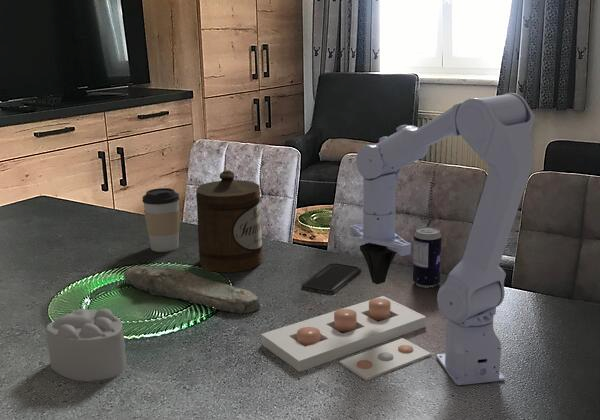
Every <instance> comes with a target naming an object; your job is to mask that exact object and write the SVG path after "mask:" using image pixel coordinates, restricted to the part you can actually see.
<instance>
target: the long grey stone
mask: <svg viewBox="0 0 600 420" xmlns="http://www.w3.org/2000/svg"><path fill="white" fill-rule="evenodd" d="M123 277H124V279H125V280H126V283H127V284H128V285H131V286H133V287H134V288H136V289H139V291H144V292H148V293H149V294H150V295H156V296H157V297H159V296H163V297H167V298H170V299H171V298H172V299H174V300H176V299H177V300H179V299H181V300H183V301H186V302H188V303H190V304H198V303H199V304H198V305H202V304H203V305H202V306H205V305H207V306H206V307H208V306H211V307H214V308H216V309H215V310H218V311H221V312H230V313H237V314H249V313H253V312H256V311H258V310H259V309H261V304H260V298H259V296H257V295H256V294H255V293H254V292H252V291H250V290H248V289H245V288H241V287H236V286H233V285H230V284H228V283H223V282H218V281H215V280H209V279H207V278H204V277H202V276H198V275H196V274H195V273H192V272H190V271H189V270H182V269H176V268H171V267H156V266H154V267H153V266H144V265H139V266H138V265H137V266H133V267H128V268H127V269H126V270H125V271H124V273H123ZM211 307H210V308H211ZM214 308H213V309H214Z"/></svg>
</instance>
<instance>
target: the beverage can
mask: <svg viewBox="0 0 600 420" xmlns="http://www.w3.org/2000/svg"><path fill="white" fill-rule="evenodd" d="M440 232H441V231H440V229H439V228H437V227H432V226H424V227H418V228H416V230H415V233H414V234H413V254H412V255H413V257H412V260H413V261H412V281H413V283H415V284H416V286H417V287H419V288H422V287H423V289H432V288H435V287H436V286H437V285H438V284H439V283H440V281H441V267H442V265H441V261H442V235H441V233H440ZM434 286H435V287H434ZM429 287H430V288H429ZM431 287H432V288H431Z"/></svg>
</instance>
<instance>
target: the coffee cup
mask: <svg viewBox="0 0 600 420" xmlns="http://www.w3.org/2000/svg"><path fill="white" fill-rule="evenodd" d="M179 200H180V194H179V193H178V192H176V191H175V190H174V188H171V187H170V188H168V187H167V188H165V187H163V188H162V187H160V188H154V189H149V190H147V191H146V193H145V194H144V195H142V201H141V202H142V203H143V209H144V210H143V211H144V217H145V225H146V230H147V234H148V239H149V244H150V249H151V251H154V252H159V253H161V252H162V253H166V252H172V251H174V250H177V249H178V248H179V247H180V243H179V237H180V233H179V232H180V205H179V204H180V203H179Z"/></svg>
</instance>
